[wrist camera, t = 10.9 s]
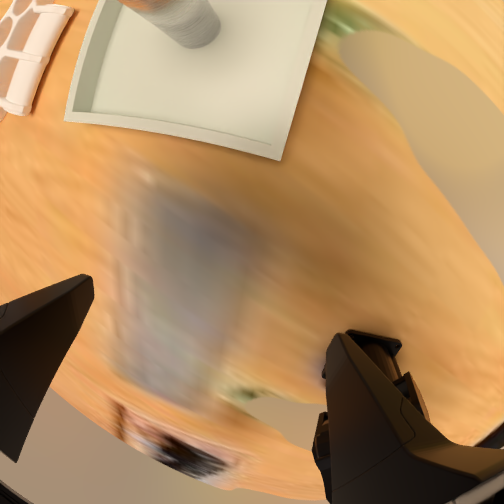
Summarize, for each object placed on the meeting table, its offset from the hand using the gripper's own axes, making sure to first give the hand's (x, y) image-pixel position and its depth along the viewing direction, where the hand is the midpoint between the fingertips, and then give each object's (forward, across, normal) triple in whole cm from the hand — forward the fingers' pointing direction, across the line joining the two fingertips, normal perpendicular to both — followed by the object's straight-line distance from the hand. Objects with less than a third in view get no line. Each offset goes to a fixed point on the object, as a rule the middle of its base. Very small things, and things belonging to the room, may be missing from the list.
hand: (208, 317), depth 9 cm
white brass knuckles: (+16, +28, -13) cm, 35 cm away
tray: (+14, +6, -13) cm, 20 cm away
